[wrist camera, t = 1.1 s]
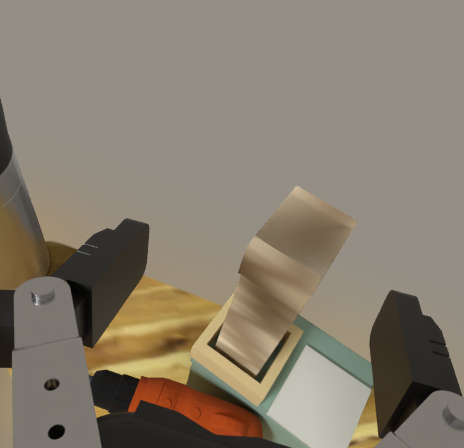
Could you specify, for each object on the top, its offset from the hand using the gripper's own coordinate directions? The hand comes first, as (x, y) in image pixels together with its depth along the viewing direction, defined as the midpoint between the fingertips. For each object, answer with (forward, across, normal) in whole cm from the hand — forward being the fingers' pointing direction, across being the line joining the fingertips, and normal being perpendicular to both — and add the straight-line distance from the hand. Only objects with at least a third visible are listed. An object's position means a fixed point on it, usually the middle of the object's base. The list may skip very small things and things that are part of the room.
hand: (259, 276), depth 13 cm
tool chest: (+16, -2, +29) cm, 33 cm away
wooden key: (+11, 0, +15) cm, 19 cm away
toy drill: (+12, +7, +30) cm, 33 cm away
